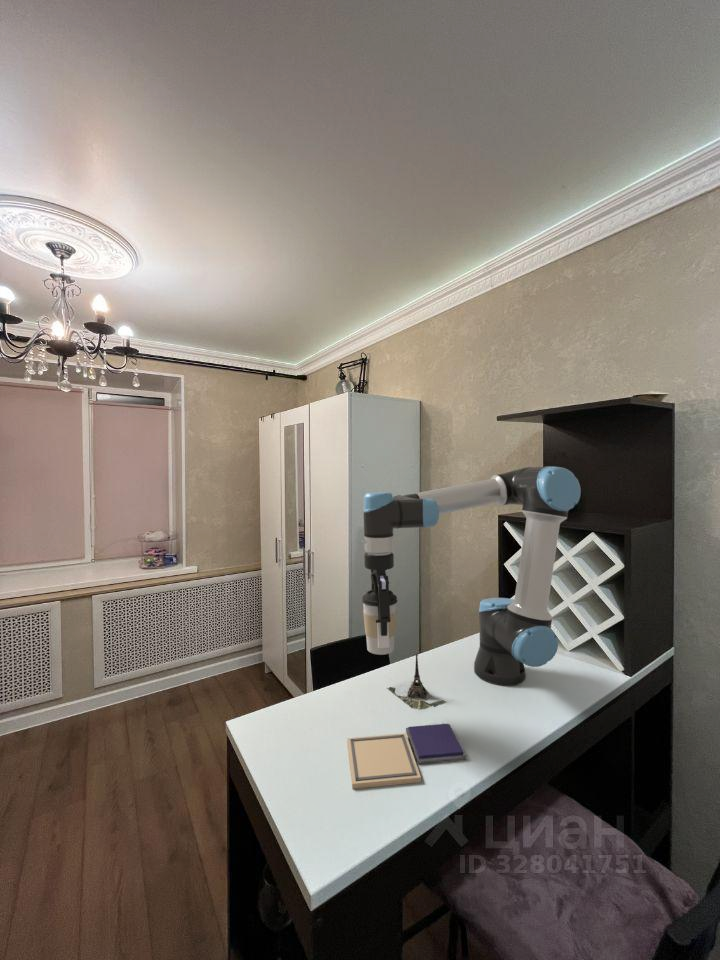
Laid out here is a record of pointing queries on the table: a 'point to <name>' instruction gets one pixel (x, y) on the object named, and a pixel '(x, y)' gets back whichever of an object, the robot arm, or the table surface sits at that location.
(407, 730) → the ink pad
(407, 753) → the square wooden board
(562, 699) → the table surface
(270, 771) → the table surface
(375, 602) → the coffee cup
